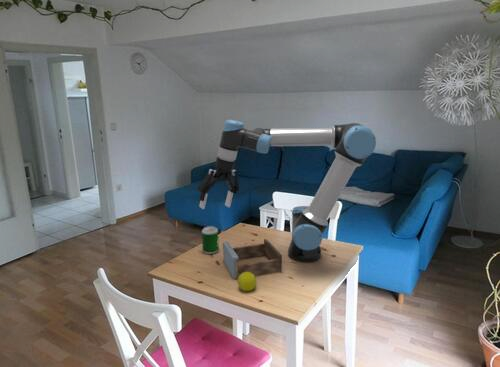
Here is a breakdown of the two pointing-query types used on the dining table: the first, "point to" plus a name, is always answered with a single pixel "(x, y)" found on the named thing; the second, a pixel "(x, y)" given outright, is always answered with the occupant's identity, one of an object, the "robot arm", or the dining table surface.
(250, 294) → the dining table surface
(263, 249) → the crate
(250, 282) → the tennis ball
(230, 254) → the blue-grey book
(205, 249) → the soda can
